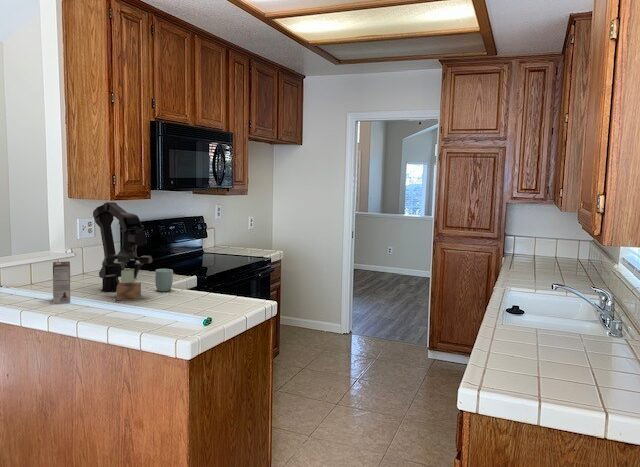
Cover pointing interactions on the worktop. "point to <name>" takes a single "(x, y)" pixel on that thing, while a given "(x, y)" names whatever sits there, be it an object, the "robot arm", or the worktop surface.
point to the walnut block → (128, 291)
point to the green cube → (128, 275)
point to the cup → (164, 279)
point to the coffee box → (61, 282)
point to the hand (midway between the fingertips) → (129, 278)
